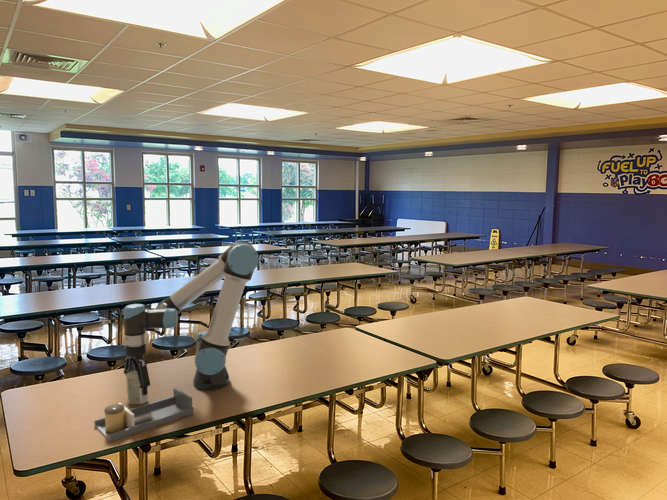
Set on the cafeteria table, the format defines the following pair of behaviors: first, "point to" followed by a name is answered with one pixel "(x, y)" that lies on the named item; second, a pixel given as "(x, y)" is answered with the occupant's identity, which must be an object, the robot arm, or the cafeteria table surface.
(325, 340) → the cafeteria table surface
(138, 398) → the skincare box
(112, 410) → the jar
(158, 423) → the lane
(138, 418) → the pusher
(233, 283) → the robot arm
